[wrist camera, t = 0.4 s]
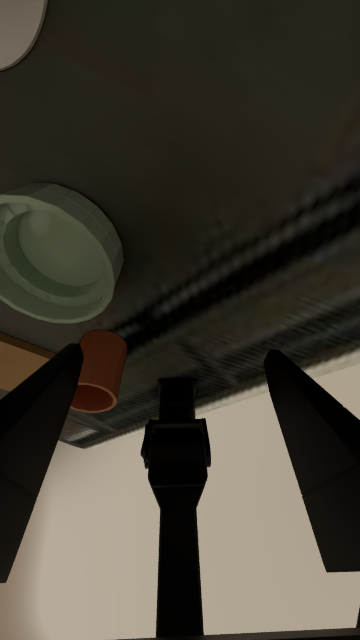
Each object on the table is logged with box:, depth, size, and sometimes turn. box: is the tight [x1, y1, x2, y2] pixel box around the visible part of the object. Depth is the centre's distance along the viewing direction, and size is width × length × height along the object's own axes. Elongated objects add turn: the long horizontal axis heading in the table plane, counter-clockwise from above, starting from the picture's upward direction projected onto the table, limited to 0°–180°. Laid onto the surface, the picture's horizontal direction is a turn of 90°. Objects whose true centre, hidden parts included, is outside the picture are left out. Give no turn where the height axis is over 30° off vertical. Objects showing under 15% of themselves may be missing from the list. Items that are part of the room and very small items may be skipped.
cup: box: [70, 330, 127, 412], centre depth 28 cm, size 6×6×8 cm
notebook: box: [0, 333, 56, 391], centre depth 32 cm, size 12×18×1 cm
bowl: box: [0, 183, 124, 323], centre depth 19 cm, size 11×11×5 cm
